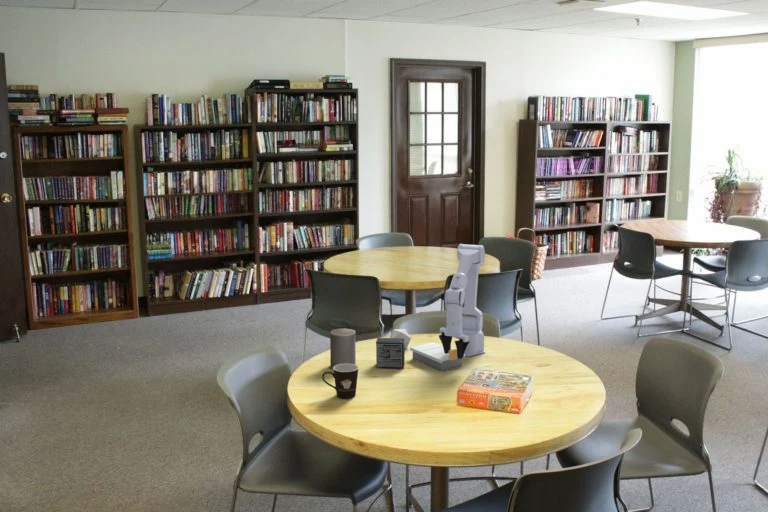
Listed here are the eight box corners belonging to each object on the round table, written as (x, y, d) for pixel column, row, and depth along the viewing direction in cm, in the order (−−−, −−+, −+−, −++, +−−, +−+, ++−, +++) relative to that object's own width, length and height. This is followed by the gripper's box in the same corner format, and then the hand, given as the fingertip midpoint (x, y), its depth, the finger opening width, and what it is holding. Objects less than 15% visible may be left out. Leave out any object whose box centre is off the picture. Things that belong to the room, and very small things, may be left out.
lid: (433, 345, 302) (433, 334, 301) (466, 358, 286) (466, 347, 285) (410, 350, 295) (410, 339, 294) (442, 363, 279) (442, 353, 278)
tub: (432, 354, 301) (432, 344, 301) (462, 366, 287) (462, 356, 286) (412, 358, 296) (412, 349, 295) (441, 371, 281) (441, 361, 281)
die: (405, 354, 304) (416, 332, 306) (387, 343, 303) (398, 322, 306) (401, 355, 312) (411, 334, 314) (383, 345, 311) (393, 324, 313)
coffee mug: (362, 392, 260) (362, 365, 258) (353, 401, 252) (353, 373, 250) (331, 388, 264) (330, 361, 262) (321, 397, 256) (320, 369, 254)
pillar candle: (325, 365, 288) (324, 327, 285) (346, 360, 294) (346, 323, 291) (339, 372, 280) (339, 333, 278) (361, 367, 286) (360, 329, 283)
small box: (405, 363, 290) (405, 337, 288) (403, 369, 284) (403, 342, 282) (377, 362, 291) (377, 336, 289) (375, 368, 285) (375, 341, 283)
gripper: (433, 318, 283) (433, 352, 286) (458, 326, 272) (458, 362, 274) (448, 315, 287) (447, 349, 290) (473, 323, 276) (472, 359, 278)
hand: (453, 355), depth 282 cm, fingers open, 7 cm apart
